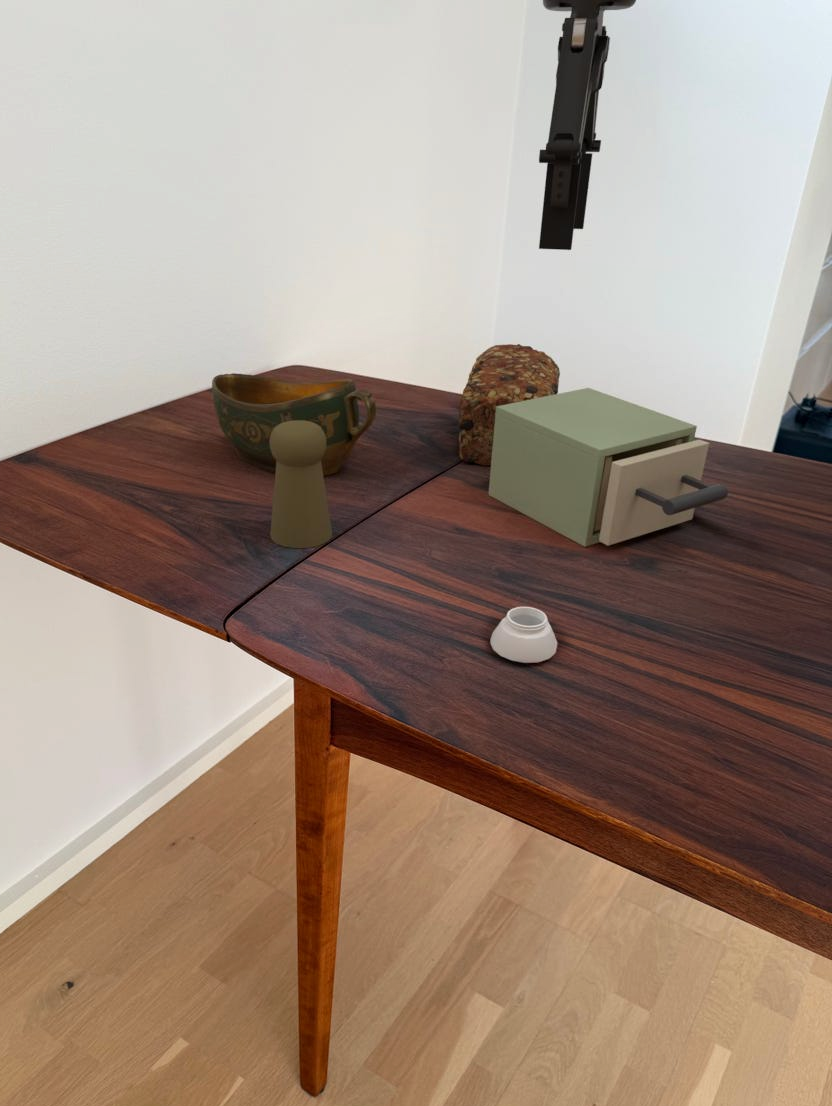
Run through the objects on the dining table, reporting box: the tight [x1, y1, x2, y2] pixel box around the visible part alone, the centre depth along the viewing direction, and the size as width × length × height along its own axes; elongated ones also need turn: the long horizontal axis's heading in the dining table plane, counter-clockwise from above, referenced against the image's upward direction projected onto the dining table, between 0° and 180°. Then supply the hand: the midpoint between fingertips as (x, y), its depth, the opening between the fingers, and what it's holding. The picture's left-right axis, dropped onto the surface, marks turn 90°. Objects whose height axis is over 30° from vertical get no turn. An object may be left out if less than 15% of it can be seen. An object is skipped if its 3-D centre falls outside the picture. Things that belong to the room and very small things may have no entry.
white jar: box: [489, 606, 558, 664], centre depth 67 cm, size 5×3×5 cm
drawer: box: [593, 438, 729, 547], centre depth 85 cm, size 18×11×8 cm, turn 31°
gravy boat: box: [211, 373, 377, 477], centre depth 99 cm, size 13×20×10 cm, turn 28°
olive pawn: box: [269, 420, 333, 549], centre depth 83 cm, size 6×6×11 cm
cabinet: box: [487, 387, 698, 548], centre depth 89 cm, size 15×13×10 cm
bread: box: [458, 343, 561, 466], centre depth 105 cm, size 19×11×10 cm, turn 166°
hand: (562, 238), depth 82 cm, fingers open, 13 cm apart
